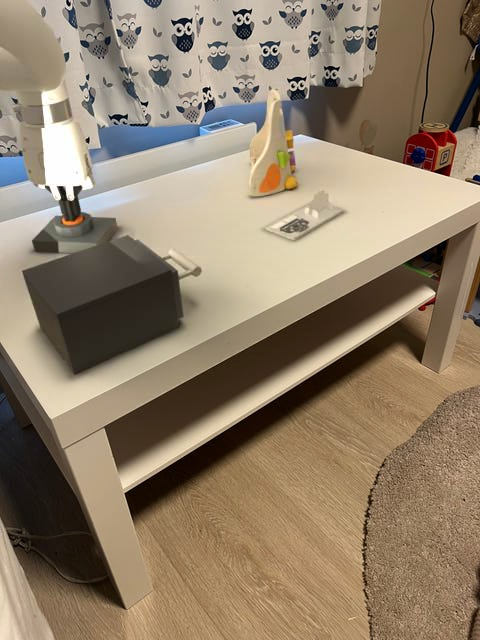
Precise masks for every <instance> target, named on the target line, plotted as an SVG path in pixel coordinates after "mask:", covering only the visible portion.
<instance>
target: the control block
mask: <svg viewBox="0 0 480 640" xmlns="http://www.w3.org/2000/svg"><path fill="white" fill-rule="evenodd" d="M80 215H82V216H83V220H84V221H83V222H81V223H79V224H75V225H64V224H63V221H62V219H63V218H64V215H63V214H62V215H55V216H54V217H53V218H52V219H51V220H50V221H48V223H47V224H46V225H45V226H44V227H43V228H42V229H41V230H40V231H39V232H38V234H36V235H35V237H33V238H32V240H31V244H32V246H33V250H34V252H37V253H56V254H57V253H59V254H73V253H76V252H79V251H82V250H84V249H87V248H90V247H93V246H96V245H99V244H102V243H105V242H108V241H111V238H112V237H113V236H114V235H115V233H116V231H117V230H118V229H119V228H118V222H117V218H116V217H103V216H100V217H99V216H92V215H91V214H90V213H87V212H84V211H81V213H80Z"/></svg>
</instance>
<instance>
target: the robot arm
mask: <svg viewBox="0 0 480 640" xmlns="http://www.w3.org/2000/svg"><path fill="white" fill-rule="evenodd" d="M66 63H67V62H66V57H65V54H64V50H63V48H62V46H61V43H60V41H59V40H58V38H57V36H56V34H55V32H54V29H53V28H52V26H51V25H50V24H49V23H47V22H46V21H45V19H44V18H43V17H42V15H41V14H40V12H38V10H37V9H36V8H35V6H33V4H32V3H31V2H30V1H28V0H0V92H15V94H16V98H17V103H14V104H13V106H12V108H13V112H14V113H16V114H20V116H21V119H22V121H20V122H19V127H18V128H19V140H20V147H21V153H22V158H23V163H24V168H25V171H26V176H27V178H28V180H29V181H30V183H32V184H33V186H35V187H36V188H39V189H43V190H44V189H45V190H46V191H48V192H49V193H50V194H51V195H52V196H53V198H54V199H55V200H56V201H58V205H59V209H60V212H61V214H62V215H64V219H65V221H73V222H74V221H75V220H76V219H77V218H78V217H79V215H80V213H81V212H82V208H81V204H80V199H79V195H80V194H81V191H85V190H90V189H92V188H93V187H94V186H95V185H96V181H95V179H94V177H93V174H94V168H93V162H92V159H91V154H90V150H89V147H88V144H87V140H86V137H85V135H84V132H83V130H82V128H81V125H80V123H79V121H78V119H77V117H74V115H73V111H72V108H71V107H72V106H71V102H70V98H69V93H68V89H67V85H66V80H65V77H66V72H67V65H66Z"/></svg>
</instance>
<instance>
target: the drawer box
mask: <svg viewBox="0 0 480 640" xmlns="http://www.w3.org/2000/svg"><path fill="white" fill-rule="evenodd" d="M135 240H136V239H134V238H132V237H131V236H129V234H126V235H123V236H120V237H117V238H115V239H110V240H109V241H108V242H105V243H102V244H99V245H96V246H93V247H90V248H87V249H84V250H82V251H79V252H76V253H69V254H67V255H64V256H61V257H58V258H55V259H52V260H48V261H46V262H43V263H41V264H37V265H33V266H31V267H28V268H26V269H22V270H21V273H22V276H23V279H24V283H25V286H26V288H27V292H28V294H29V297H30V301H31V304H32V306H33V310H34V312H35V316H36V319H37V323H38V324H39V328H40V329H41V331H42V332H43V334H44V335H45V337H47V339H48V341H49V343H51V345H52V346H53V347H54V348H55V350H56V351H57V352H58V355H60V357H61V358H62V359H63V361H64V363H65V364H66V365H67V366H68V368H69V369H70V370H71V372H72V373H73V375H77V374H79V373H82V372H84V371H86V370H89V369H91V368H93V367H95V366H97V365H99V364H102V363H104V362H106V361H108V360H111V359H112V358H115V357H118V356H119V355H122V354H124V353H126V352H128V351H130V350H133V349H135V348H137V347H140V346H142V345H143V344H146V343H148V342H150V341H152V340H154V339H158V338H159V337H161V336H164V335H166V334H168V333H170V332H172V331H175V330H176V329H179V328H180V323H179V320H178V315H177V307H176V300H175V292H174V284H173V276H172V270H171V269H170V268H169V267H168V266H166V265H165V264H164V263H163V262H161V261H160V260H159V259H157V258H156V257H155V256H154V255H152V254H151V253H150V252H149V251H147V250H146V249H145V248H144V247H142V246H141V245H140V244H138V243H137V242H136V241H135Z"/></svg>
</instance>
